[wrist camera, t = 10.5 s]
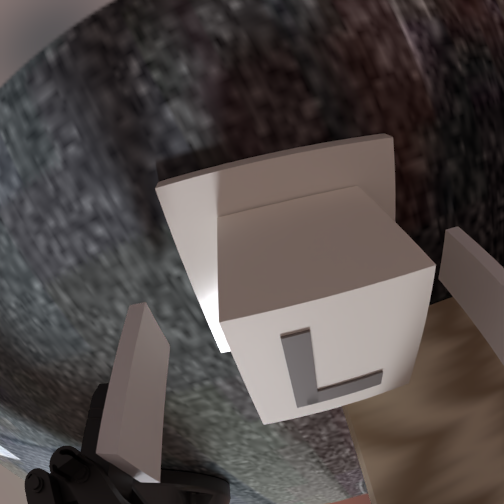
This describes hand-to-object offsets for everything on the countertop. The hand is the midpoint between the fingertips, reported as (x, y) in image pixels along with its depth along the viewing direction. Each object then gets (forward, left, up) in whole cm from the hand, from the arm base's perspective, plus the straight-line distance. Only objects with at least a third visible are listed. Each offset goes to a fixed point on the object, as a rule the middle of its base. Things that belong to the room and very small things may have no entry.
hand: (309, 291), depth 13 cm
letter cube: (0, 0, -2) cm, 2 cm away
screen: (+10, -10, -3) cm, 14 cm away
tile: (0, 0, -3) cm, 3 cm away
